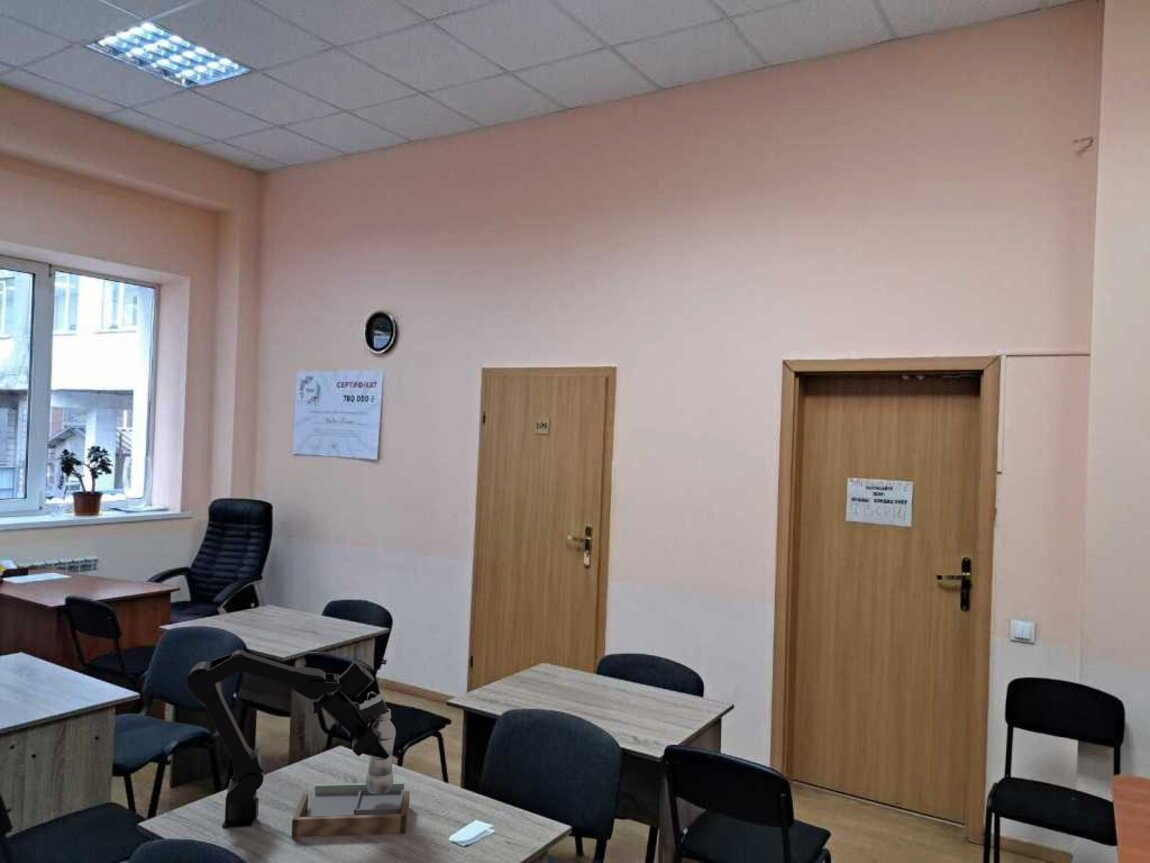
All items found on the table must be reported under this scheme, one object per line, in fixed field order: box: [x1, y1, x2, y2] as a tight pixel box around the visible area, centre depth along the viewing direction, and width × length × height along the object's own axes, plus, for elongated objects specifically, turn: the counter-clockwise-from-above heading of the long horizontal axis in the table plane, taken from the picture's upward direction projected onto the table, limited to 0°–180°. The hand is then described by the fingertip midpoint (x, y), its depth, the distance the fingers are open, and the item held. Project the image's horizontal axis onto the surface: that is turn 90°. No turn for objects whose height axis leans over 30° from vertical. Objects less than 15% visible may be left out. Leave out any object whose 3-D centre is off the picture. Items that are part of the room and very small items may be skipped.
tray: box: [305, 781, 405, 817], centre depth 197 cm, size 22×13×3 cm, turn 98°
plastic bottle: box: [365, 708, 397, 794], centre depth 198 cm, size 6×7×20 cm
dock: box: [291, 790, 410, 838], centre depth 190 cm, size 25×13×4 cm, turn 98°
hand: (386, 752), depth 198 cm, fingers closed on plastic bottle, 6 cm apart
